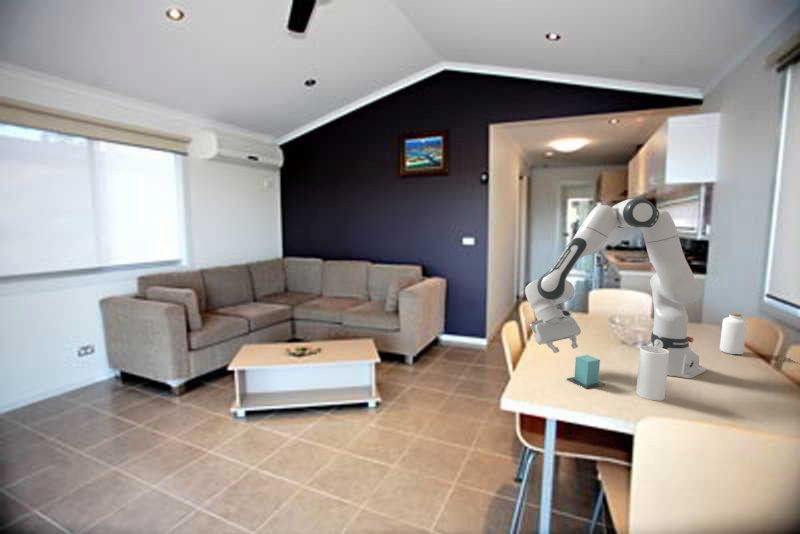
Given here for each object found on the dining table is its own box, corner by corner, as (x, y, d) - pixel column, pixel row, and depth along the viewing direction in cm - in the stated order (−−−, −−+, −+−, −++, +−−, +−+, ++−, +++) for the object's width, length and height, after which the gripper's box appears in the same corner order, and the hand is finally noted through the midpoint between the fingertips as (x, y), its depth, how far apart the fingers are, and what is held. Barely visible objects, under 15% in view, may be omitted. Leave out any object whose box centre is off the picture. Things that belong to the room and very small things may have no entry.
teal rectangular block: (585, 377, 152) (587, 354, 151) (598, 382, 146) (599, 359, 145) (574, 379, 150) (575, 356, 148) (586, 385, 144) (588, 361, 143)
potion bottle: (723, 354, 181) (727, 314, 179) (716, 348, 189) (720, 310, 187) (746, 356, 178) (751, 316, 176) (738, 351, 186) (743, 312, 184)
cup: (669, 401, 133) (673, 354, 131) (641, 399, 135) (645, 352, 133) (658, 391, 141) (662, 346, 139) (632, 389, 143) (636, 344, 141)
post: (585, 376, 154) (586, 357, 153) (605, 385, 146) (606, 365, 145) (567, 379, 151) (568, 360, 150) (586, 389, 142) (587, 369, 141)
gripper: (532, 318, 157) (549, 352, 150) (573, 310, 164) (591, 342, 158) (524, 325, 162) (540, 358, 155) (564, 317, 169) (581, 348, 163)
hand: (566, 350), depth 156 cm, fingers open, 8 cm apart
